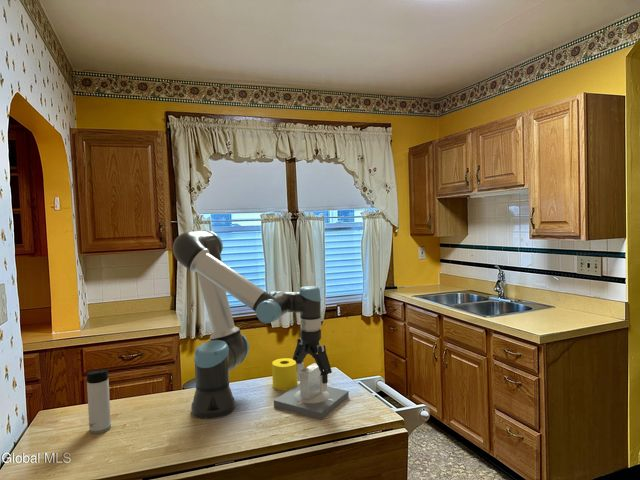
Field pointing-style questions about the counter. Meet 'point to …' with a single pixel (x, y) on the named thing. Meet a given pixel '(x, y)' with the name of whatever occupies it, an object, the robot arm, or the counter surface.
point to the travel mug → (98, 401)
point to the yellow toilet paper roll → (284, 374)
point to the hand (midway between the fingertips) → (311, 385)
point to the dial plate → (312, 402)
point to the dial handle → (310, 381)
